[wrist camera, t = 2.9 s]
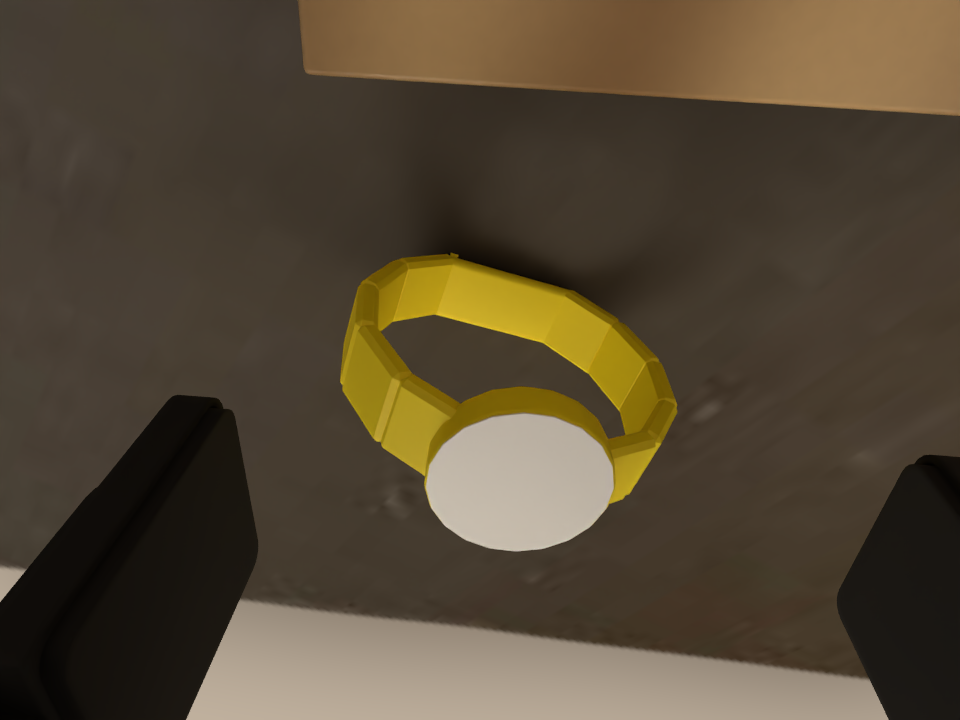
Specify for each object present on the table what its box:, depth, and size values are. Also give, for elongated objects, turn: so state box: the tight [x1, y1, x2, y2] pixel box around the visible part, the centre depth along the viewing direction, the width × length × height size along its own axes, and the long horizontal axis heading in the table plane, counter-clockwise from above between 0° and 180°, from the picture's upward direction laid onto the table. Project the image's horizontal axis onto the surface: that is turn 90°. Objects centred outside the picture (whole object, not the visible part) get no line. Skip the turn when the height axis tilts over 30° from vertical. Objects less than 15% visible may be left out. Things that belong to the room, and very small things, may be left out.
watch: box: [340, 253, 677, 551], centre depth 12 cm, size 6×3×6 cm, turn 72°
